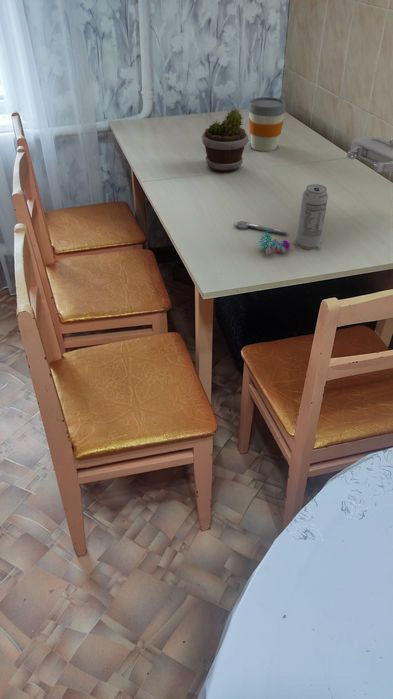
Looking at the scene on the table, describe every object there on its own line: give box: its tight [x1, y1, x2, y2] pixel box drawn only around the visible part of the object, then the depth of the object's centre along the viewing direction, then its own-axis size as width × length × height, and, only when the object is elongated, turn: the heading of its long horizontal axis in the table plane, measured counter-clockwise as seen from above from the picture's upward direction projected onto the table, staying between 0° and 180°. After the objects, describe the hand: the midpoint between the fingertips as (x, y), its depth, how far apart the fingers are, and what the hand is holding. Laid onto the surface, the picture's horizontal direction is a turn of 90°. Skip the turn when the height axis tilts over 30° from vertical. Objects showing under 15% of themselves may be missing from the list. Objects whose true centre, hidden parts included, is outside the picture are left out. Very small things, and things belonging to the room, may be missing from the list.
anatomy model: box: [258, 231, 291, 256], centre depth 134 cm, size 5×8×7 cm
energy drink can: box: [295, 183, 329, 250], centre depth 134 cm, size 6×6×15 cm
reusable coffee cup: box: [248, 96, 286, 152], centre depth 189 cm, size 13×13×15 cm
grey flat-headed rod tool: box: [235, 220, 287, 236], centre depth 144 cm, size 14×4×1 cm, turn 66°
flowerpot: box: [201, 104, 250, 173], centre depth 172 cm, size 14×15×20 cm
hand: (362, 161), depth 131 cm, fingers open, 8 cm apart
